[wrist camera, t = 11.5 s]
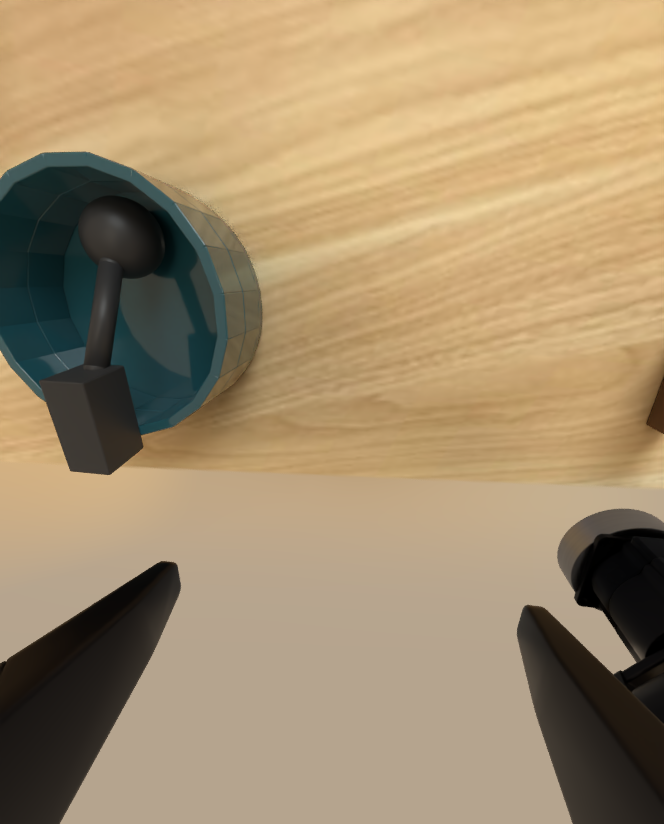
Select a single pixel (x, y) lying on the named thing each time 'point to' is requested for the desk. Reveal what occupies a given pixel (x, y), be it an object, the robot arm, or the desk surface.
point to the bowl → (124, 288)
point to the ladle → (104, 341)
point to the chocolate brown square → (658, 412)
